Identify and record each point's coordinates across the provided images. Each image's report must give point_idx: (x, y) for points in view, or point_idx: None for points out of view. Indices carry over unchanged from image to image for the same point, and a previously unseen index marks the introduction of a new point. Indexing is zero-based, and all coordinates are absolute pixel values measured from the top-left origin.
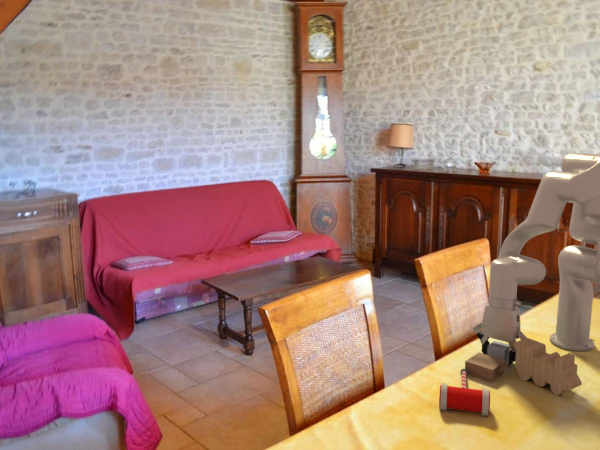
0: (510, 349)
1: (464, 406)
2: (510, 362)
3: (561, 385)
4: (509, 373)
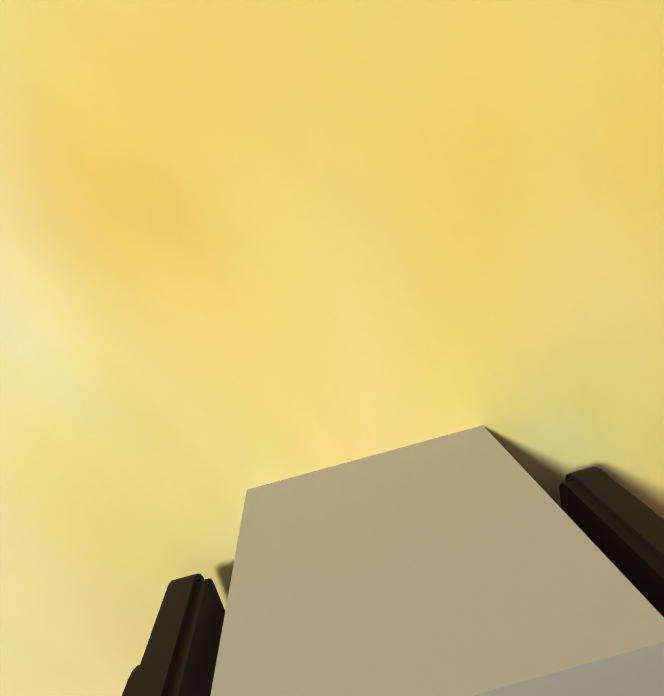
0: (595, 553)
1: None
2: None
3: None
4: None
